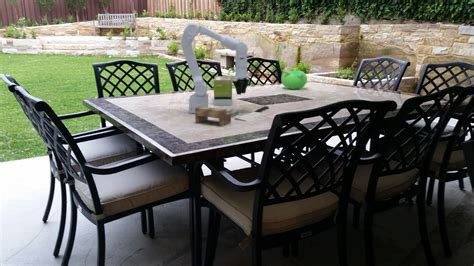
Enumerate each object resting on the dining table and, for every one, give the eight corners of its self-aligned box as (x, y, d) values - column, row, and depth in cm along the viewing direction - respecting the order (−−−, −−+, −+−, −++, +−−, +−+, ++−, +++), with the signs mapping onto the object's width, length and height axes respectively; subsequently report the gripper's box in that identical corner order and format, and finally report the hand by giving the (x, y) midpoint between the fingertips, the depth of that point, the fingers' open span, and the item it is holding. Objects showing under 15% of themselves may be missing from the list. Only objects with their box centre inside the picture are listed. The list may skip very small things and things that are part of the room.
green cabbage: (307, 87, 283) (308, 67, 279) (305, 91, 267) (306, 69, 263) (282, 86, 287) (282, 66, 283) (279, 90, 271) (280, 69, 267)
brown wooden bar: (219, 119, 186) (219, 114, 185) (231, 114, 198) (231, 109, 198) (226, 120, 184) (226, 115, 184) (239, 114, 197) (239, 110, 196)
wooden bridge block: (195, 122, 178) (195, 107, 176) (205, 119, 185) (204, 104, 183) (222, 126, 172) (221, 111, 170) (230, 122, 179) (230, 107, 177)
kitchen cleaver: (252, 120, 180) (234, 115, 185) (252, 124, 181) (233, 119, 185) (279, 109, 207) (262, 105, 211) (278, 112, 207) (261, 108, 212)
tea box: (215, 101, 231) (214, 76, 228) (232, 101, 231) (232, 76, 228) (213, 106, 217) (213, 79, 213) (231, 106, 217) (231, 79, 213)
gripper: (241, 68, 187) (241, 96, 191) (254, 66, 200) (254, 92, 203) (228, 67, 191) (228, 95, 194) (242, 65, 203) (242, 91, 206)
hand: (241, 93), depth 199 cm, fingers open, 4 cm apart
